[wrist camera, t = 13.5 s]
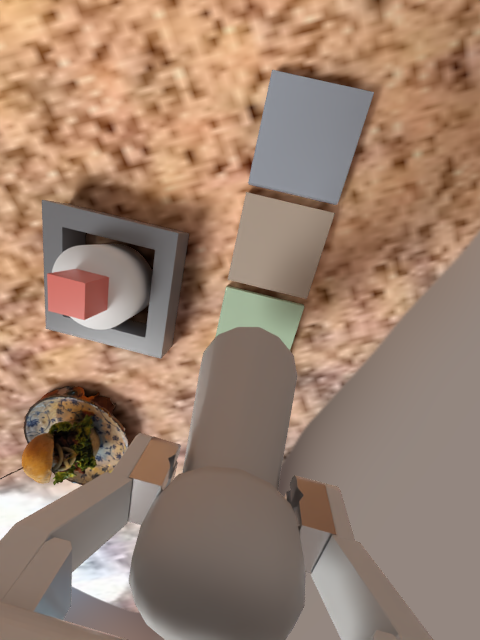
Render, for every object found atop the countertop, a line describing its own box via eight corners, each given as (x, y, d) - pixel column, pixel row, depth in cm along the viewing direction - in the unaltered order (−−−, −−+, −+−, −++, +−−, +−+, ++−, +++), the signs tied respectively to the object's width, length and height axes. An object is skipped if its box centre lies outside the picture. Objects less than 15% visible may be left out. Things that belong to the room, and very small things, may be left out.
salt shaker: (199, 323, 17) (30, 535, 5) (284, 307, 16) (329, 521, 4) (221, 397, 19) (132, 692, 7) (299, 386, 18) (363, 709, 6)
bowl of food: (95, 487, 31) (44, 561, 24) (17, 421, 29) (-64, 481, 22) (161, 441, 27) (123, 512, 20) (77, 363, 26) (4, 412, 18)
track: (272, 75, 16) (272, 69, 16) (370, 97, 16) (374, 92, 16) (212, 353, 23) (211, 356, 23) (281, 371, 23) (282, 374, 22)
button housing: (68, 203, 20) (41, 199, 18) (189, 233, 20) (178, 233, 18) (68, 319, 24) (46, 328, 21) (172, 346, 23) (161, 358, 21)
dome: (86, 235, 20) (16, 235, 15) (158, 253, 20) (115, 260, 15) (85, 305, 22) (22, 329, 17) (150, 322, 22) (110, 352, 17)
